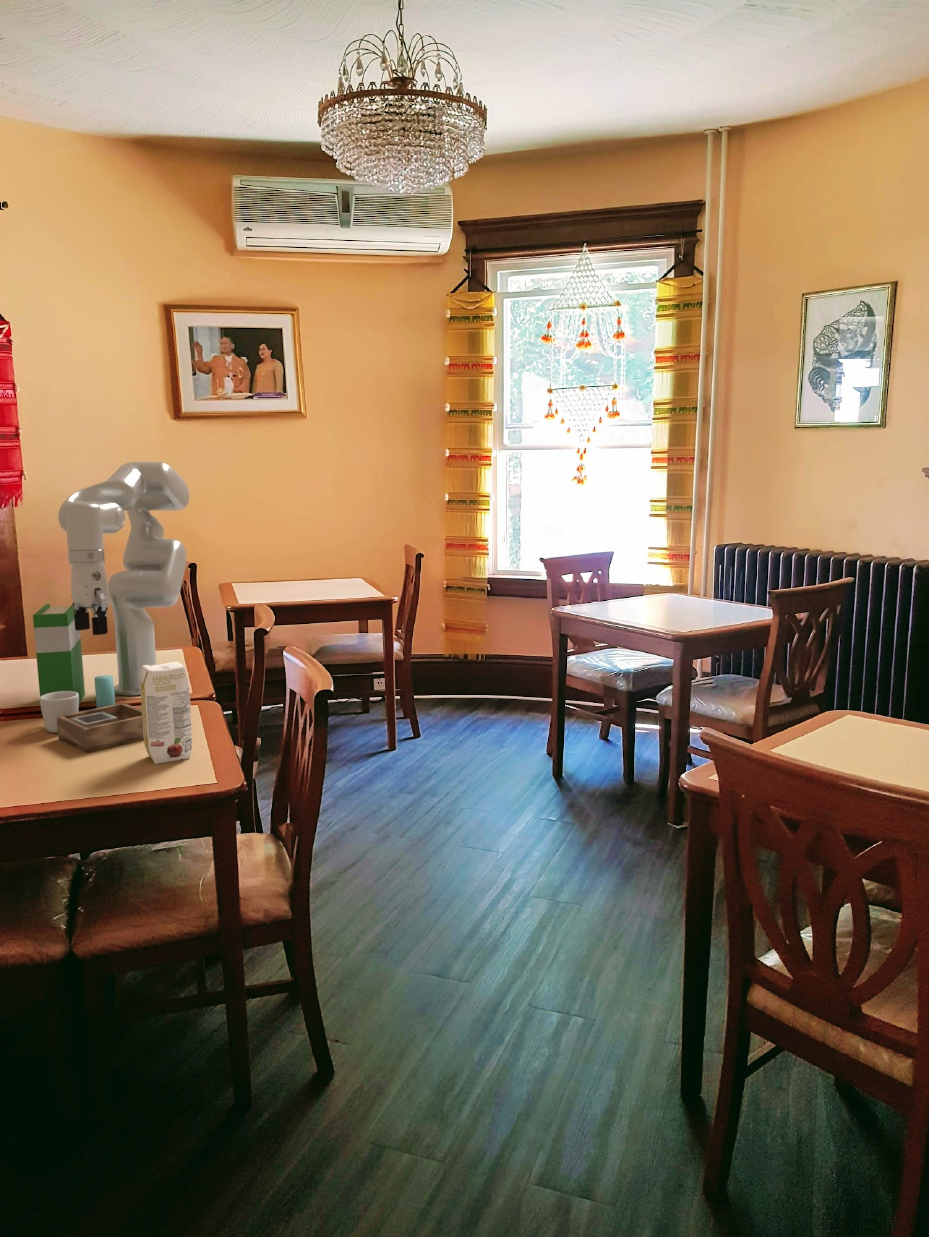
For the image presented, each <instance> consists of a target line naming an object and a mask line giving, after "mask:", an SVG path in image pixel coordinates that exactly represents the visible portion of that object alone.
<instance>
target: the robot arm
mask: <svg viewBox="0 0 929 1237" xmlns="http://www.w3.org/2000/svg"><path fill="white" fill-rule="evenodd" d="M189 502H190V492H189V488H188V485H187V483H186V482H185V480H184V479H183V477H182V476H181V475H180V474H179V473H178V472H177V471H176V470H175V468H173V467H172V466H171V465H169V464H168V463H165V462H163V461H130V462H126V463H124V464H122V465H121V466H120V467H118V469H116V470H115V472H114V473H113V474H111V476H110V477H109V478H108V479H107V480H106V481H102V482H99V483H96V484H94V485H91V486H88V487H87V486H86V487H84V488H82V489H79V490H77V491H74V492H73V493H71V495H69V496H68V497H67V498H66V499H65V500H64V501H63V502H62V504H61V505H60V508H59V509H58V514H57V515H58V516H57V518H58V523H59V525H60V528H62V530H63V532H66V542H67V543H66V544H67V556H68V557H67V558H68V565H70V566H71V568H70V569H71V573H70V578H71V579H70V580H71V582H70V584H71V586H70V587H71V589H70V590H71V598H72V604H73V606H74V609H73V611H74V619H75V630H77V631H79V630H80V631H85V630H87V631H88V630H90V629H91V630H92V631H91V632H92V635H93V636H100V635H107V634H108V633H109V632H108V630H109V629H108V609H109V608H108V607H109V606H110V605H111V609H112V613H113V615H112V616H113V622H114V633H115V634H114V636H115V648H116V662H117V664H116V665H117V675H118V684H116V685H114V695H120V696H141V688H140V676H141V669H142V666H143V665H157V658H156V655H157V654H156V653H157V652H156V641H155V640H156V639H155V625H154V621H153V618H152V617H151V616H150V614H149V613H148V612H147V610H146V608H169V607H172V606H174V605H175V604H176V603H177V602H178V600H179V597H180V595H181V594H180V593H181V589H182V585H183V580H184V577H185V572H186V568H187V567H186V566H187V558H188V557H187V551H186V547H185V545H184V544H183V542H181V541H180V540H178V539H175V538H174V539H173V538H164V535H165V530H164V527H163V525H162V523H160V521H159V520H158V519H157V518H156V517H155V516H154V515H153V514H152V513H151V511H182V510H183V509H186V507H187V506H188V504H189ZM125 511H126V513H127V516H128V517H127V518H128V519H129V524H130V531H129V535H128V539H127V542H126V545H125V548H124V553H123V556H122V564H123V567H124V569H125V570H122V571H117V572H116V573H113V574H112V575H111V576H110V577H109V579H108V577H107V572H106V568H105V549H104V548H105V546H104V534H105V535H106V534H107V535H109V534H115V533H118V532H119V531H121V530H122V529H123V527H124V526H125V523H126V514H125ZM88 609H90V611H91V614H92V617H91V621H90V612H88ZM90 622H91V623H90ZM91 627H92V628H91Z"/></svg>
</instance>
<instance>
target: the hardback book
mask: <svg viewBox="0 0 929 1237" xmlns="http://www.w3.org/2000/svg"><path fill="white" fill-rule="evenodd" d="M73 609H74V606H73V603H72V604H71V605H63V606H51V603H45V605H43V606H42V607H41V608H40V609H39V610H37V611H36V612H35V613H34V614H32V620H33V621H32V622H33V632H34V633H33V634H34V635H33V636H34V644H35V656H36V666H37V678H38V689H39V698H40V697H41V696H42V695H45V694H48V693H52V692H60V691H73V692H77V693H78V694H79V704H80V705H81V703H82V700H83V698H84V697H85V695H86V690H85V688H86V687H85V675H84V664H83V651H82V640H81V639H82V638H81V630H79V631H77V630H75V619H74V611H73ZM80 702H81V703H80ZM40 711H41V714H42V710H41V709H40Z"/></svg>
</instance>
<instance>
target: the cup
mask: <svg viewBox="0 0 929 1237" xmlns="http://www.w3.org/2000/svg"><path fill="white" fill-rule="evenodd" d="M38 699H39V704H40V711H41V710H42V713H41V715H42V718H43V723H44V727H45V729H46V731H47V732H49V733H53V734H55V733H56V734H58V727H57V716H62V715H67V714H72V713H77V712H79V707H80V705H79V694H78V693H77V692H73V691H60V692H52V693H48V694H45V695H42V696H41V697H40V696H39V698H38Z"/></svg>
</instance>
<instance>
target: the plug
mask: <svg viewBox="0 0 929 1237" xmlns="http://www.w3.org/2000/svg"><path fill="white" fill-rule="evenodd" d="M93 680H94V692H95V702H96V708H101V707H106V706H111V705H116V700H115V693H114V686H115V684H114V676H113V675H109V674H108V675H106V674H105V675H98V676H95V677H94V679H93Z"/></svg>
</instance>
